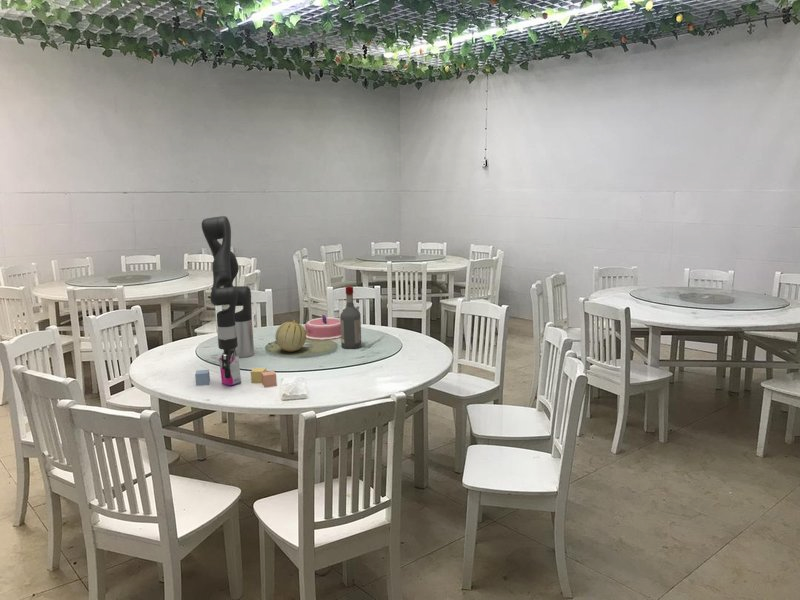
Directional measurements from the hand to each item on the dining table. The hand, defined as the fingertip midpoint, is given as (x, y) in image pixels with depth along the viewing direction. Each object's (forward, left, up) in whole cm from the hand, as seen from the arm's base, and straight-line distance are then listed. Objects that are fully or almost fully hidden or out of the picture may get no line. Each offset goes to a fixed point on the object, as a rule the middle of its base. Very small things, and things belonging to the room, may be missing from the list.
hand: (230, 374), depth 247 cm
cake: (-77, +33, -4) cm, 84 cm away
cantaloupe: (-46, +19, -4) cm, 50 cm away
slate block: (-2, -12, -4) cm, 13 cm away
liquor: (-50, +48, -4) cm, 70 cm away
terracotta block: (+3, +16, -4) cm, 17 cm away
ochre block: (-2, +11, -4) cm, 12 cm away
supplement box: (0, 0, -4) cm, 4 cm away
